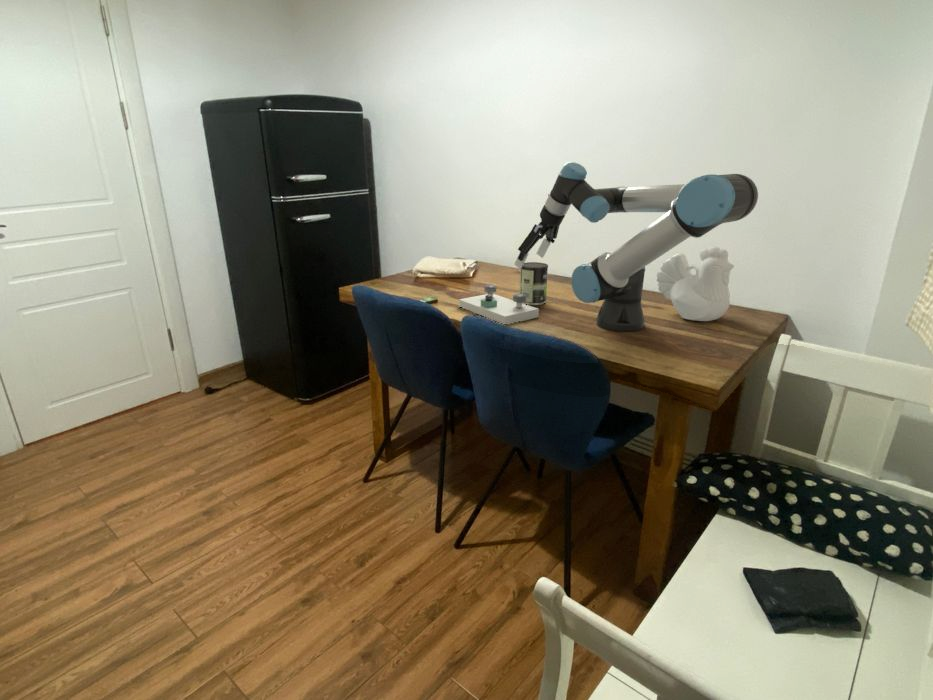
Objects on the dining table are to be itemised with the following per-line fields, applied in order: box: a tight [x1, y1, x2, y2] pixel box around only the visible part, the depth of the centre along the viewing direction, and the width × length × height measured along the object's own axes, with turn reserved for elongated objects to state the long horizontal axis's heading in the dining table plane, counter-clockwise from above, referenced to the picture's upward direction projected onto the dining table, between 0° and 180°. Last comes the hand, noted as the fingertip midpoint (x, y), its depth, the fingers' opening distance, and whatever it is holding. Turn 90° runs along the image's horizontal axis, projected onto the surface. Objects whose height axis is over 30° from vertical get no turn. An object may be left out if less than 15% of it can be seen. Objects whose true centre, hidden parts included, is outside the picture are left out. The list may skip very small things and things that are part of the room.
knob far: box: [483, 284, 497, 299], centre depth 199 cm, size 4×4×5 cm
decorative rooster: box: [656, 246, 735, 322], centre depth 184 cm, size 25×16×25 cm, turn 31°
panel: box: [458, 293, 540, 325], centre depth 192 cm, size 26×15×3 cm, turn 36°
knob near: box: [512, 293, 526, 309], centre depth 187 cm, size 4×4×5 cm
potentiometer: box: [481, 295, 497, 308], centre depth 189 cm, size 4×4×4 cm
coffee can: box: [519, 261, 549, 306], centre depth 203 cm, size 10×10×14 cm
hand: (528, 260), depth 188 cm, fingers open, 13 cm apart
